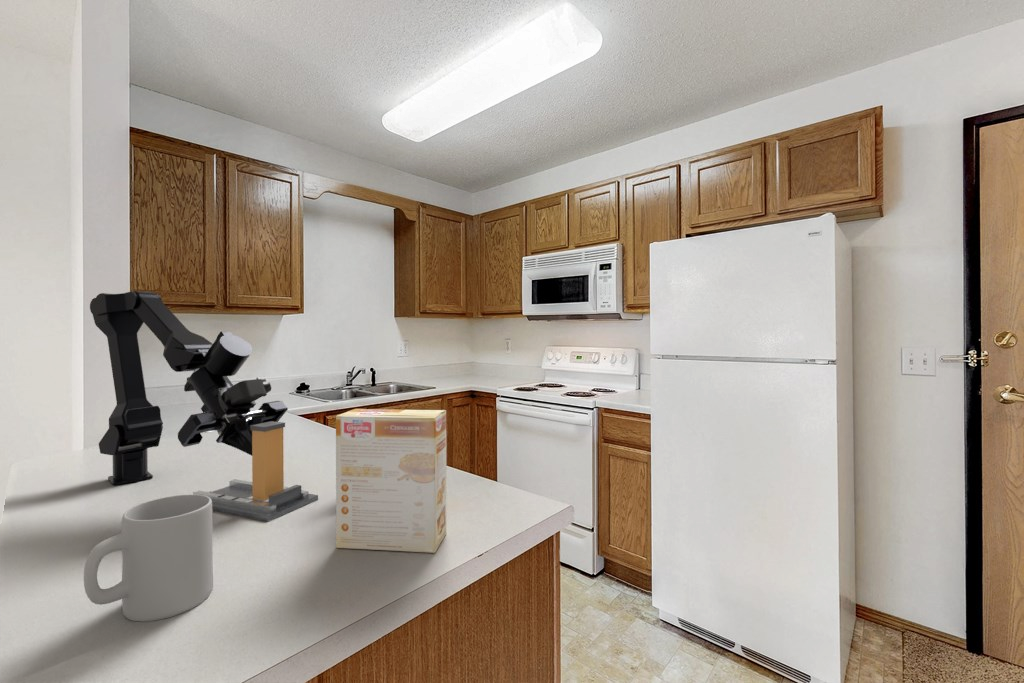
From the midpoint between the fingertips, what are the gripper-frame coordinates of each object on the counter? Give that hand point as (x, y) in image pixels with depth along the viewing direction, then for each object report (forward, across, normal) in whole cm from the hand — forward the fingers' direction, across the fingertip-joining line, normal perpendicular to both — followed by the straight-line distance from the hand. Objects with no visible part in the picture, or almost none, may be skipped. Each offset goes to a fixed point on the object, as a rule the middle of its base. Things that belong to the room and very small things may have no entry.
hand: (260, 456), depth 84 cm
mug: (+18, -28, -5) cm, 34 cm away
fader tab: (+7, 0, +5) cm, 9 cm away
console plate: (+5, 0, +8) cm, 9 cm away
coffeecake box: (+28, -4, -16) cm, 33 cm away
